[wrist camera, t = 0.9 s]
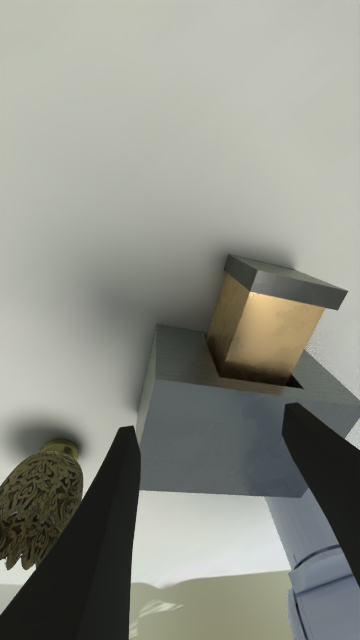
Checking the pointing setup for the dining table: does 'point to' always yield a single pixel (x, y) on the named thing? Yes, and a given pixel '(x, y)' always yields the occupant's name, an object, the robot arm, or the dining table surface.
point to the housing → (226, 421)
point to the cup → (39, 502)
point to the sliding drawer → (266, 320)
